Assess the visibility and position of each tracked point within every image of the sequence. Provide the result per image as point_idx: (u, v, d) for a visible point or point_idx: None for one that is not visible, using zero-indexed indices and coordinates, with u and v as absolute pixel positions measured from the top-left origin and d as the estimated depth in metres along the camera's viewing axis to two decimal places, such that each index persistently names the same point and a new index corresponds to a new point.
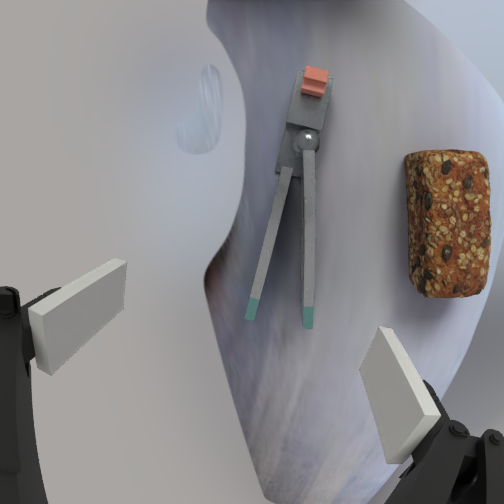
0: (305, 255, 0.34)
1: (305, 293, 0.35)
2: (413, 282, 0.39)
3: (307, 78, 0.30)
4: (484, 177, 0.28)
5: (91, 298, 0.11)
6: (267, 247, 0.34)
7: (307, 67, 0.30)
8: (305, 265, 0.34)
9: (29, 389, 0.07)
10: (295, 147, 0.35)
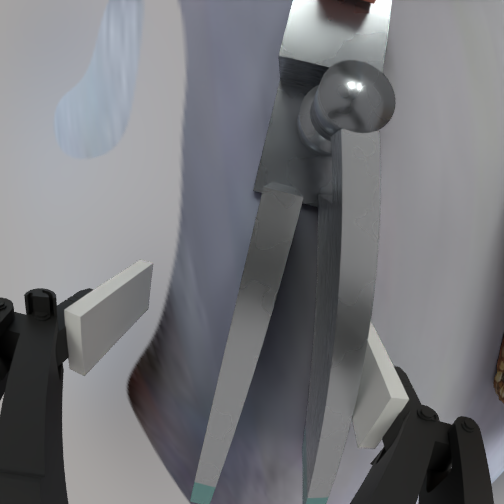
0: (323, 432, 0.11)
1: (314, 484, 0.12)
2: (501, 397, 0.15)
3: None
4: None
5: (122, 299, 0.12)
6: (224, 418, 0.11)
7: None
8: (320, 449, 0.11)
9: (60, 392, 0.08)
10: (307, 127, 0.12)
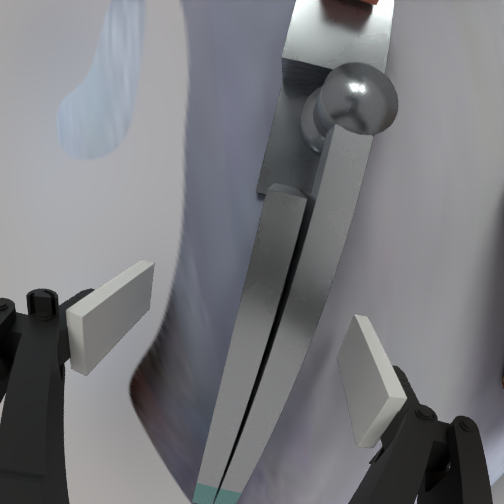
0: (247, 424, 0.11)
1: (229, 476, 0.12)
2: None
3: None
4: None
5: (124, 299, 0.12)
6: (227, 419, 0.11)
7: None
8: (242, 440, 0.12)
9: (62, 392, 0.08)
10: (310, 128, 0.12)
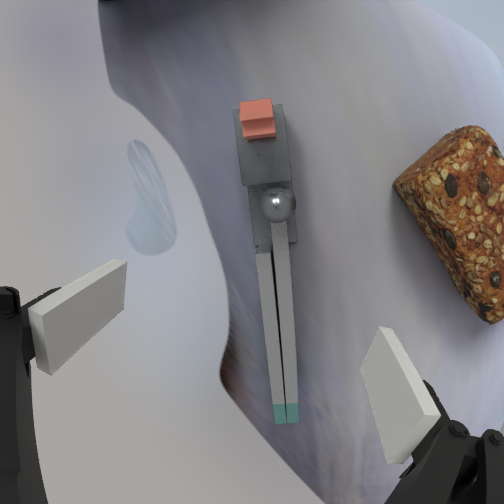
0: (283, 352, 0.26)
1: (287, 391, 0.27)
2: (470, 306, 0.28)
3: (246, 121, 0.23)
4: (496, 158, 0.19)
5: (91, 298, 0.11)
6: (273, 352, 0.26)
7: (242, 105, 0.23)
8: (284, 363, 0.27)
9: (29, 389, 0.07)
10: None
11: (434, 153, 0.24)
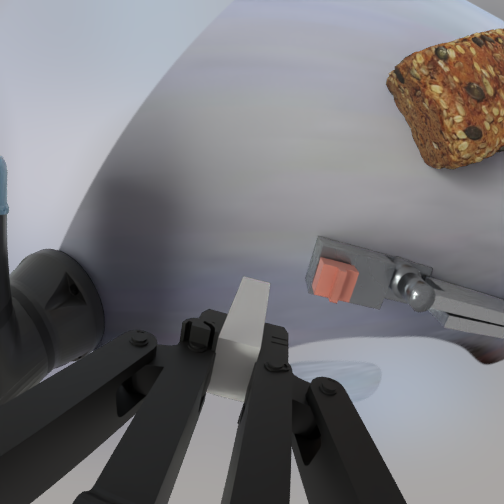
0: None
1: None
2: None
3: None
4: (449, 59, 0.16)
5: None
6: None
7: (318, 292, 0.24)
8: None
9: (194, 424, 0.08)
10: None
11: (422, 119, 0.21)
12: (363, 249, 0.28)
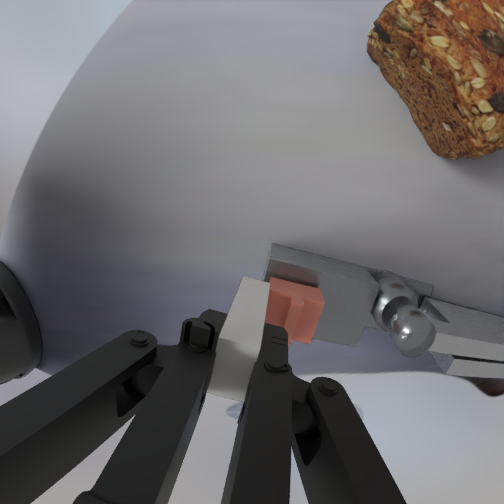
0: None
1: None
2: None
3: None
4: (449, 0, 0.09)
5: None
6: None
7: None
8: None
9: (194, 424, 0.08)
10: None
11: (423, 91, 0.14)
12: (336, 261, 0.21)
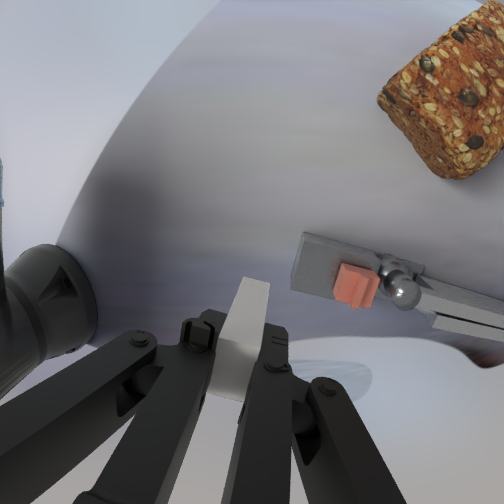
0: None
1: None
2: None
3: None
4: (436, 69, 0.16)
5: None
6: (501, 335, 0.21)
7: (339, 298, 0.23)
8: None
9: (194, 424, 0.08)
10: None
11: (421, 136, 0.21)
12: (349, 245, 0.28)
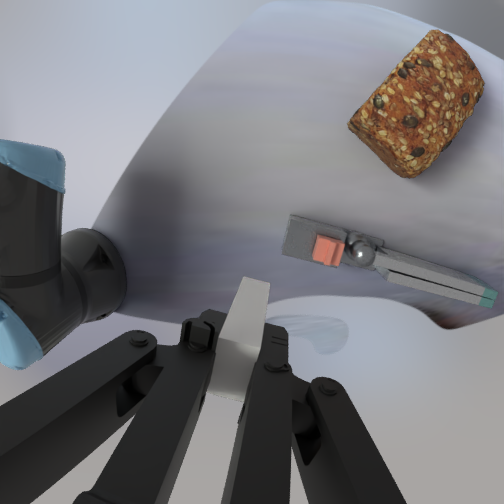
0: (450, 285, 0.32)
1: (474, 292, 0.32)
2: None
3: None
4: (385, 105, 0.27)
5: None
6: (447, 292, 0.32)
7: (316, 258, 0.34)
8: (457, 287, 0.32)
9: (194, 424, 0.08)
10: None
11: (381, 151, 0.32)
12: (325, 224, 0.39)
